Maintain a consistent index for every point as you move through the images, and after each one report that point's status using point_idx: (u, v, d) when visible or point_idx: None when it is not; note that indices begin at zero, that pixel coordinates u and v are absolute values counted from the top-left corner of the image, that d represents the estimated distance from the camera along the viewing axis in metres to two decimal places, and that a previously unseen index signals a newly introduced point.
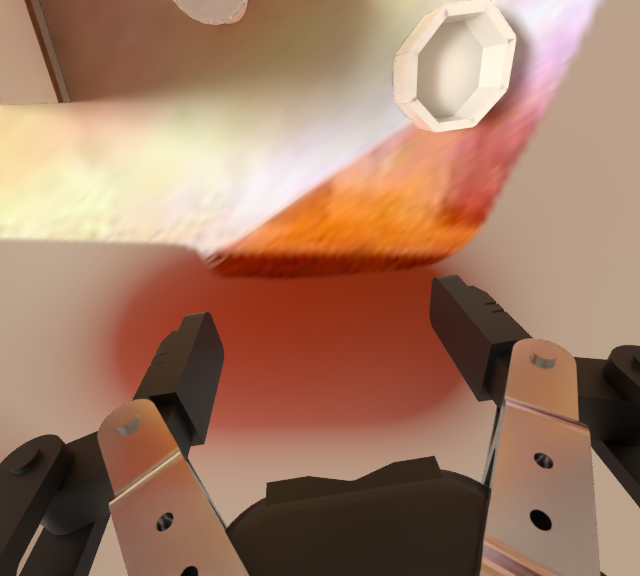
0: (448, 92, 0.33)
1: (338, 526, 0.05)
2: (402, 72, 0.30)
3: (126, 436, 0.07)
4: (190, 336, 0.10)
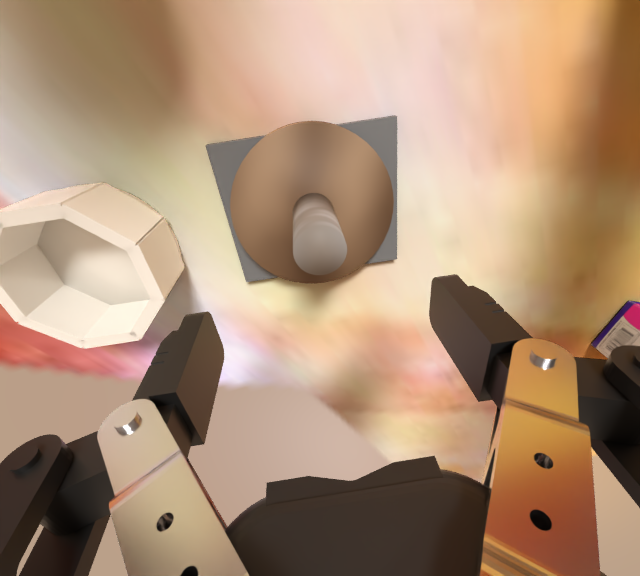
0: (89, 271, 0.23)
1: (338, 526, 0.05)
2: (55, 197, 0.18)
3: (126, 436, 0.07)
4: (190, 336, 0.09)
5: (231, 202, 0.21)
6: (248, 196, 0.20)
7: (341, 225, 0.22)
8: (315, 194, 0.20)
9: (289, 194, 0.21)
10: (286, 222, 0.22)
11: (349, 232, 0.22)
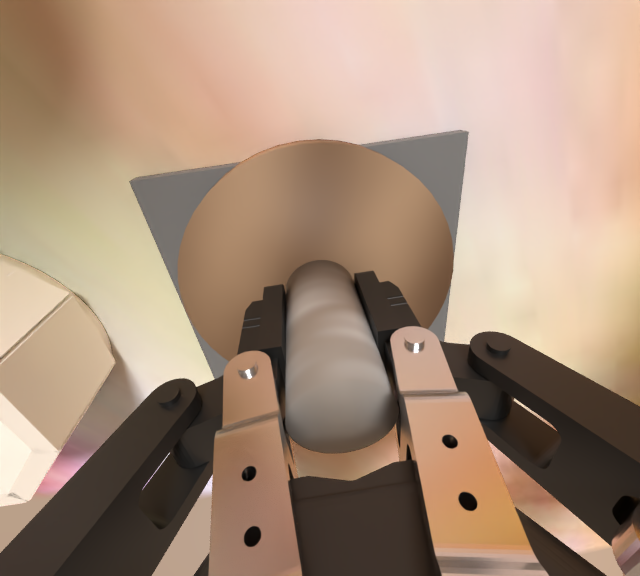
0: None
1: (338, 526, 0.05)
2: None
3: (252, 378, 0.08)
4: (276, 303, 0.10)
5: (180, 276, 0.12)
6: (209, 267, 0.12)
7: None
8: (324, 264, 0.12)
9: (280, 263, 0.12)
10: None
11: None
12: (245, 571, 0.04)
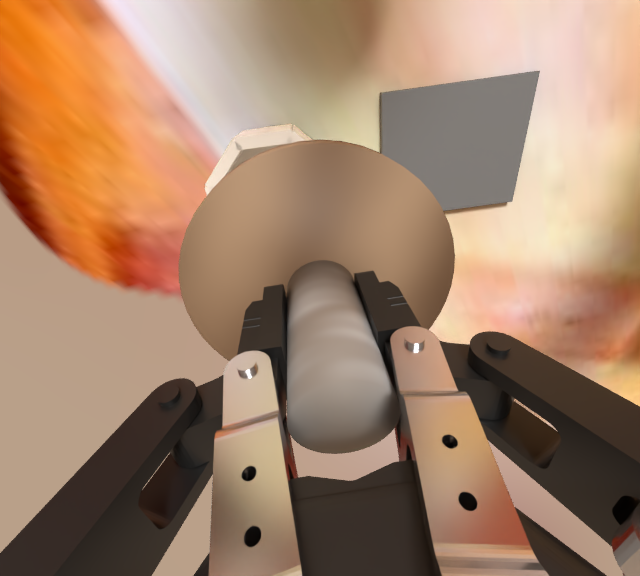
0: None
1: (338, 526, 0.05)
2: (271, 129, 0.22)
3: (252, 378, 0.08)
4: (276, 303, 0.10)
5: (181, 276, 0.12)
6: (210, 267, 0.12)
7: None
8: (325, 264, 0.12)
9: (281, 263, 0.12)
10: None
11: None
12: (246, 571, 0.04)
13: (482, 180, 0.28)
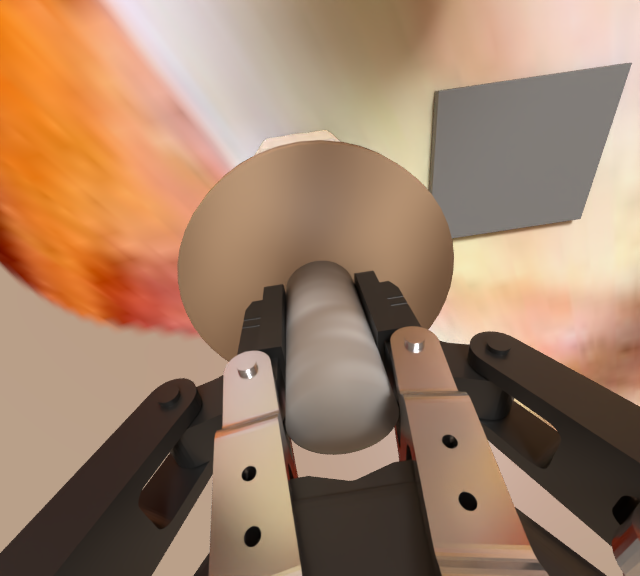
0: None
1: (338, 526, 0.05)
2: (306, 138, 0.17)
3: (252, 378, 0.08)
4: (276, 303, 0.10)
5: (180, 277, 0.12)
6: (209, 267, 0.12)
7: None
8: (324, 265, 0.12)
9: (280, 264, 0.12)
10: None
11: None
12: (245, 571, 0.04)
13: (549, 195, 0.23)
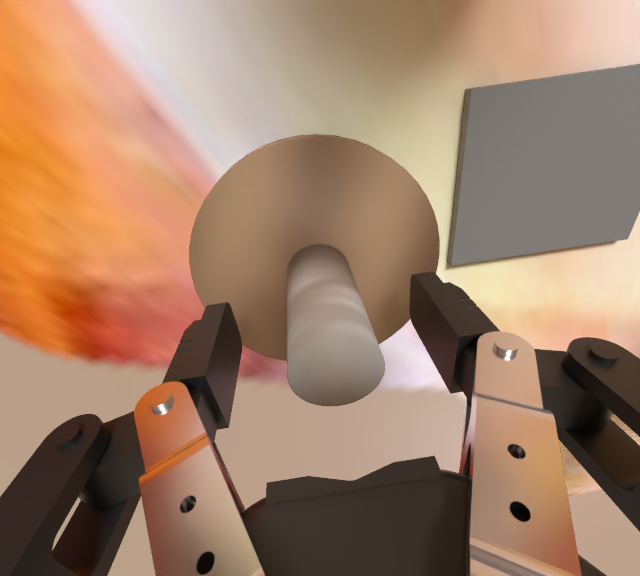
0: None
1: (338, 526, 0.05)
2: None
3: (162, 415, 0.07)
4: (213, 324, 0.10)
5: (191, 258, 0.13)
6: (217, 250, 0.13)
7: (359, 288, 0.15)
8: (321, 247, 0.13)
9: (282, 247, 0.13)
10: (278, 285, 0.14)
11: (371, 297, 0.15)
12: None
13: (594, 212, 0.20)
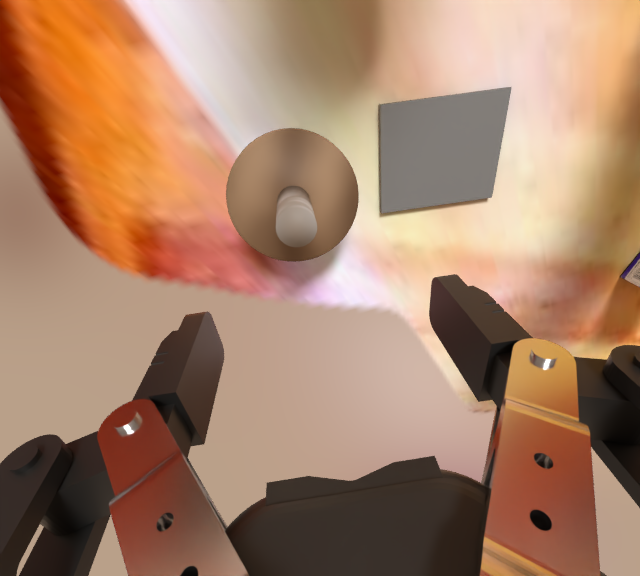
0: None
1: (338, 526, 0.05)
2: None
3: (126, 436, 0.07)
4: (190, 336, 0.09)
5: (227, 192, 0.25)
6: (241, 187, 0.25)
7: (316, 212, 0.27)
8: (294, 186, 0.25)
9: (274, 186, 0.26)
10: (272, 209, 0.27)
11: (323, 218, 0.27)
12: None
13: (466, 179, 0.32)
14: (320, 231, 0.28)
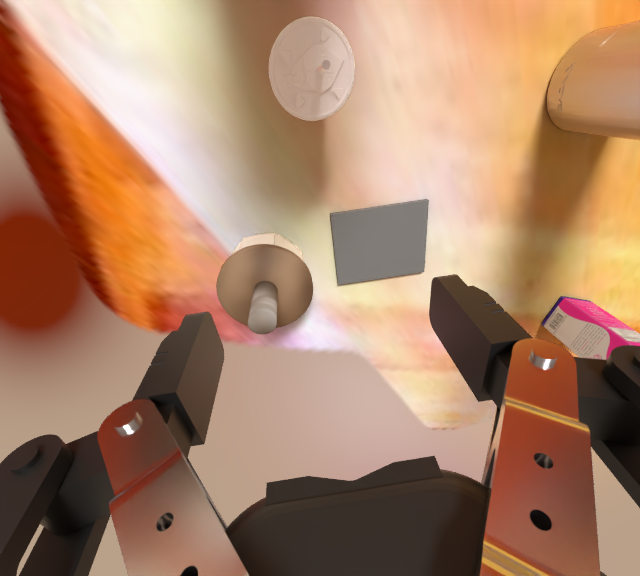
0: None
1: (338, 526, 0.05)
2: (261, 243, 0.36)
3: (126, 436, 0.07)
4: (190, 336, 0.10)
5: (217, 286, 0.36)
6: (227, 283, 0.35)
7: (282, 297, 0.37)
8: (265, 282, 0.35)
9: (251, 282, 0.36)
10: (250, 296, 0.37)
11: (288, 300, 0.37)
12: None
13: (402, 260, 0.42)
14: (286, 308, 0.38)
